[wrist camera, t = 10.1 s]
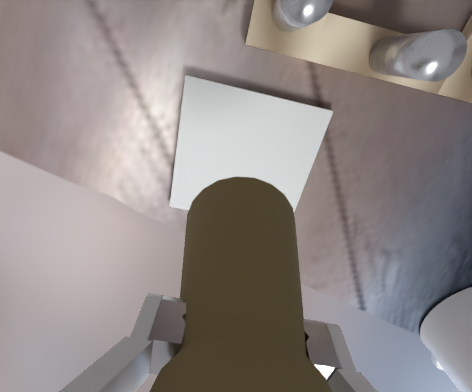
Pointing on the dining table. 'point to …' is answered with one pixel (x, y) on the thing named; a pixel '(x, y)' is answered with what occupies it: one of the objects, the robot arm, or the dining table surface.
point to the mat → (243, 139)
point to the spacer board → (349, 48)
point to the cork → (241, 296)
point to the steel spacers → (387, 43)
